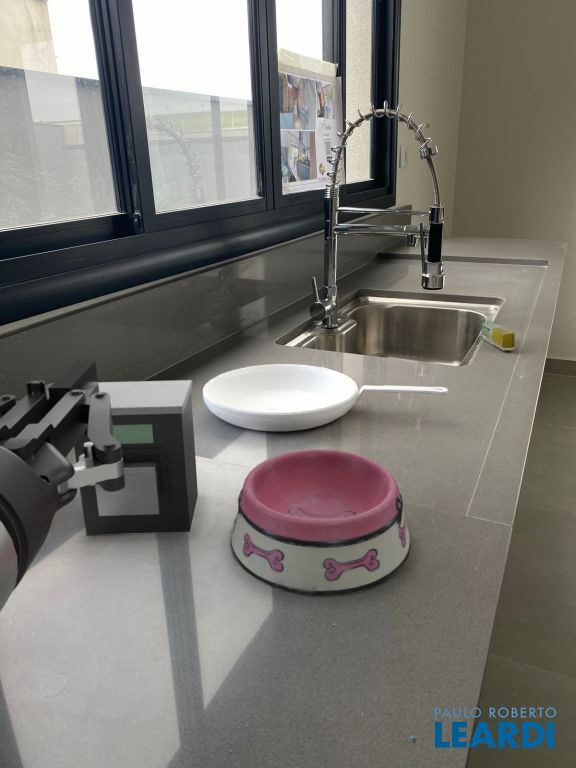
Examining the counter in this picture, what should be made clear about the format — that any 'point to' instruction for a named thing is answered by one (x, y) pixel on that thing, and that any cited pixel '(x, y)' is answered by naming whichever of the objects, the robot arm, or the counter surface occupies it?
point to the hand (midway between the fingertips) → (87, 377)
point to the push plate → (132, 492)
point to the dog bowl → (320, 523)
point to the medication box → (498, 335)
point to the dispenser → (150, 454)
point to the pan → (288, 396)
